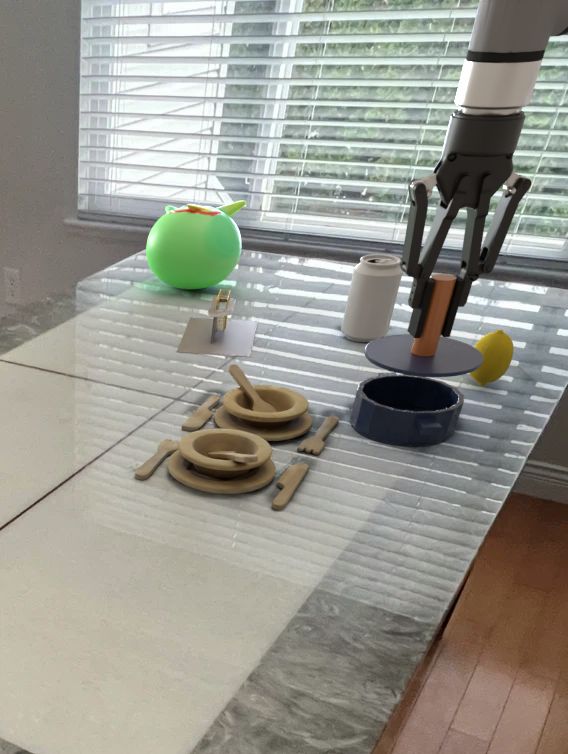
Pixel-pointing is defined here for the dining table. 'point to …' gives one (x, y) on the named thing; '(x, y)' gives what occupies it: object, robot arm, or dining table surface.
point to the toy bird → (194, 245)
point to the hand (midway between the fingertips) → (428, 333)
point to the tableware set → (241, 441)
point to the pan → (406, 410)
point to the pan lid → (427, 343)
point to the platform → (219, 331)
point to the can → (371, 297)
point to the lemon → (493, 357)
